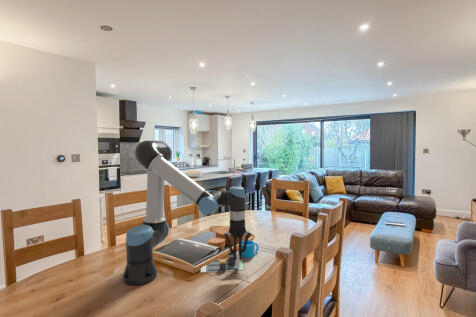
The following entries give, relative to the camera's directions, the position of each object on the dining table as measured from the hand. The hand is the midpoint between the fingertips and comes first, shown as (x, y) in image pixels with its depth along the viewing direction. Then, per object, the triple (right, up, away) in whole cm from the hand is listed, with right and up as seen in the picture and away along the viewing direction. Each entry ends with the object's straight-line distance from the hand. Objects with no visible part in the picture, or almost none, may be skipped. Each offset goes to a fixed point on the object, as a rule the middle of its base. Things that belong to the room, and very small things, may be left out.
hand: (237, 265), depth 130 cm
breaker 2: (-3, -1, +5) cm, 6 cm away
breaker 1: (-3, -1, +10) cm, 10 cm away
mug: (+7, -2, +18) cm, 19 cm away
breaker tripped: (-7, -2, -1) cm, 7 cm away
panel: (-8, -3, +4) cm, 9 cm away
